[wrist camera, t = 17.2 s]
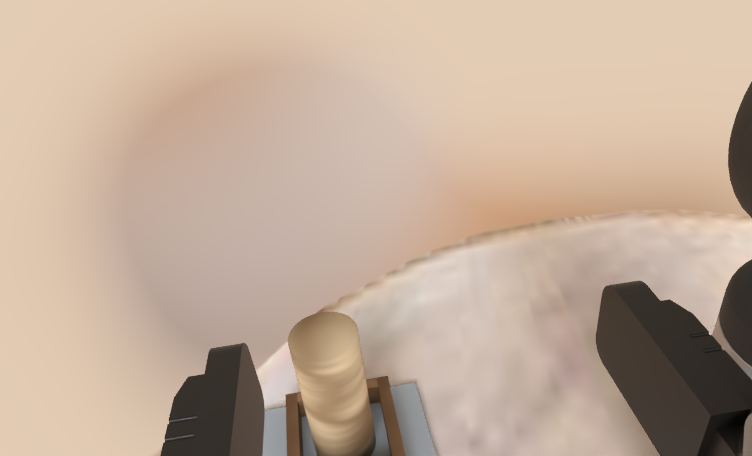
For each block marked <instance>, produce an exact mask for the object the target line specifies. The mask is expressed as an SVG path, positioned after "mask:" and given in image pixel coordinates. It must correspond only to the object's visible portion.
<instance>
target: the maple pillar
mask: <svg viewBox="0 0 752 456" xmlns="http://www.w3.org/2000/svg"><path fill="white" fill-rule="evenodd" d="M288 345H289V349H290V353H291V357H292V361H293V365H294V368H295V372H296V376H297V380H298V384H299V388H300V392H301V396H302V400H303V403H304V407H305V411H306V415H307V419H308V423H309V427H310V431H311V435H312V438H313V442H314V446H315V450H316V454H317V456H371V455H372V454H373V452H374V449H375V445H376V437H375V431H374V425H373V419H372V413H371V407H370V401H369V395H368V389H367V383H366V377H365V371H364V365H363V359H362V353H361V347H360V341H359V335H358V329H357V325H356V324H355V322H354V321H353V320H352V319H351V318H350V317H348V316H347V315H345V314H342V313H337V312H322V313H317V314H313V315H311V316H309V317H306V318H304V319H303V320H301V321H300V322H298V323H297V324H296V325H295V326H294V327H293V329H292V330H291V332H290V334H289V337H288Z"/></svg>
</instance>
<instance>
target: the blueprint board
mask: <svg viewBox="0 0 752 456" xmlns="http://www.w3.org/2000/svg"><path fill="white" fill-rule="evenodd" d="M390 389H391V394H392V398H393V402H394V407H395V411H396V415H397V420H398V424H399V429H400V433H401V437H402V442H403V446H404V451H405V455H406V456H436V454H435V450H434V447H433V443H432V439H431V436H430V432H429V429H428V425H427V422H426V418H425V415H424V411H423V407H422V404H421V400H420V397H419V393H418V390H417V386H416V383H415V382H414V383H409V384H403V385H398V386H393V387H390ZM370 407H371V413H372V419H373V425H374V431H375V437H376V445H375V449H374V452H373V454H372V455H371V456H391V453H390V448H389V443H388V438H387V433H386V428H385V423H384V418H383V413H382V409H381V404H380V402H379V403H373V404H370ZM301 418H302V438H303V456H317V454H316V450H315V446H314V442H313V438H312V435H311V431H310V427H309V423H308V419H307V416H305V417H301ZM262 456H287V434H286V407H281V408H275V409H270V410H265V420H264V437H263V454H262Z"/></svg>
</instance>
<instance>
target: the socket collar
mask: <svg viewBox="0 0 752 456" xmlns="http://www.w3.org/2000/svg"><path fill="white" fill-rule="evenodd" d="M366 383H367V389H368V395H369V401H370V404H373V403H379V402H380V404H381V409H382V413H383V418H384V423H385V428H386V433H387V438H388V443H389V448H390V453H391V456H406V455H405V451H404V446H403V442H402V437H401V433H400V429H399V424H398V420H397V415H396V411H395V407H394V402H393V398H392V394H391V389H390V385H389V380H388V376H384V377H379V378H374V379H368V380H366ZM305 416H307V415H306V411H305V407H304V403H303V400H302V396H301V392H298V393H293V394H288V395H286V434H287V456H303V438H302V418H301V417H305Z"/></svg>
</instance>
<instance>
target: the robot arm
mask: <svg viewBox="0 0 752 456" xmlns="http://www.w3.org/2000/svg"><path fill="white" fill-rule="evenodd" d="M728 167H729V174H730V181H731V184H732V187H733V190H734V193H735V195H736V197H737V199H738V201H739V203H740V204H741V206H742V208H743V209H744V210H745V211H746V212H747V213H748V214H749V215H750V216H751V218H752V82H751V84H750V86H749V88H748V90H747V91H746V94H745V95H744V98H743V100H742V103H741V105H740V107H739V110H738V112H737V115H736V118H735V122H734V125H733V129H732V133H731V137H730V143H729V155H728ZM596 344H597V349H598V353H599V356H600V358H601V361H602V362H603V364H604V366H605V367H606V369H607V371H608V372H609V374H610V376H611V377H612V379H613V380H614V382H615V384H616V385H617V387H618V388H619V390H620V392H621V393H622V395H623V396H624V398H625V400H626V401H627V403H628V404H629V406H630V408H631V409H632V411H633V412H634V414H635V416H636V417H637V419H638V421H639V422H640V424H641V425H642V427H643V429H644V430H645V432H646V433H647V435H648V437H649V438H650V440H651V441H652V443H653V445H654V446H655V448H656V449H657V451H658V453H659V454H660V456H752V260H750V261H748V262H747V263H745V264H744V265H743V266H742V267H740V268H739V269H738V270H737V271H736V273H735V274H734V275H733V276H732V278H731V280H730V282H729V284H728V286H727V289H726V292H725V295H724V298H723V302H722V305H721V308H720V312H719V315H718V318H717V321H716V325H715V328H714V331H713V335H709V331H708V330H707V329H706V328H705V327H704V326H703V325H702V324H701V323H700V321H699V320H698V319H697V318H696V317H695V316H694V315H693V314H692V313H691V312H689V311H687V310H686V309H684V308H682V307H681V306H679V305H678V304H676V303H674V302H673V301H671V300H664V301H660V300H659V299H658V298H657V297H656V295H655V294H654V293H653V292H652V291H651V289H650V288H649V287H648V286H647V285H646V284H645V283H644V282H642V281H634V282H628V283H622V284H615V285H609V286H606V287H605V288H604V290H603V293H602V299H601V306H600V312H599V319H598V325H597V332H596ZM264 420H265V411H264V400H263V394H262V390H261V386H260V383H259V380H258V377H257V374H256V371H255V368H254V365H253V361H252V358H251V355H250V352H249V349H248V347H247V345H246V344H245V343H242V344H236V345H230V346H223V347H217V348H212V349H210V351H209V354H208V359H207V364H206V370H205V374H203V375H197V376H191V377H188V378H187V379H186V381H185V382H184V384H183V385H182V387H181V388H180V390H179V391H178V393H177V394H176V396H175V397H174V400H173V404H172V409H171V413H170V417H169V424H168V426H167V430H166V434H165V443H163V447H162V452H161V456H262V454H263V437H264Z"/></svg>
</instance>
